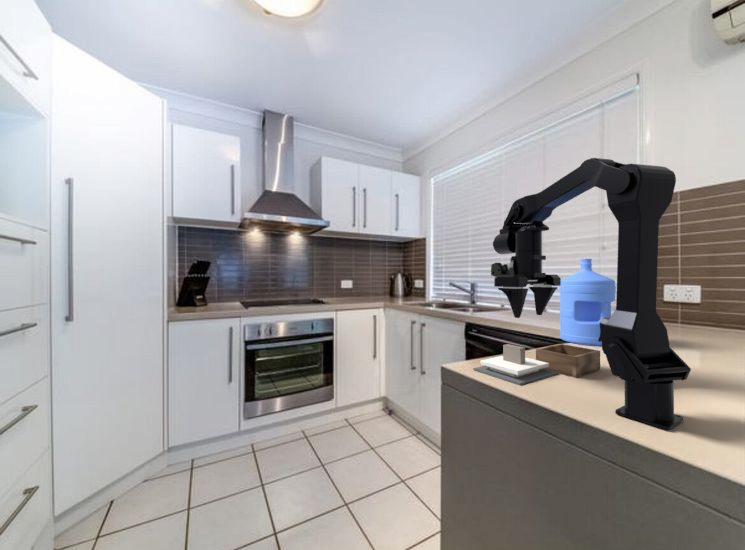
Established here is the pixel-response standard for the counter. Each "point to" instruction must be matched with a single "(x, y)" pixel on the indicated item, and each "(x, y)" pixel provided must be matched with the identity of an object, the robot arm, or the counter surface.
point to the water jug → (585, 305)
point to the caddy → (569, 359)
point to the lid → (514, 362)
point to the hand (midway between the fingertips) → (528, 316)
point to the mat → (521, 379)
